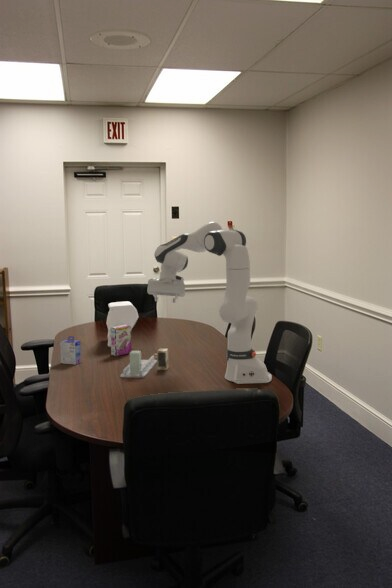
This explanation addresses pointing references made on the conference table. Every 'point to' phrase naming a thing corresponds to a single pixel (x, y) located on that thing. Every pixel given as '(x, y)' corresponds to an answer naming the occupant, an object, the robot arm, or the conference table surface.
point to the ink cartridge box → (70, 351)
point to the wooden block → (162, 359)
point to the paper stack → (120, 316)
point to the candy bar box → (120, 340)
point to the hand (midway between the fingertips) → (165, 301)
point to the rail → (136, 375)
